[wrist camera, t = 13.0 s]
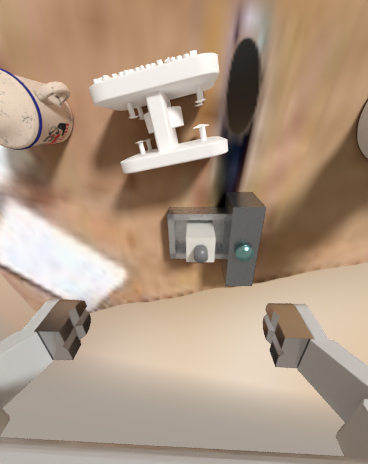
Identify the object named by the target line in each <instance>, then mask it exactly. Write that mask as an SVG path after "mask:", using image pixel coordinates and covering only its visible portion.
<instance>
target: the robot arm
mask: <svg viewBox="0 0 368 464" xmlns="http://www.w3.org/2000/svg"><path fill="white" fill-rule="evenodd" d="M357 139H358V144H359V147H360V150H361V151H362V153H363V154H364V155H365V157H367V158H368V102H367V103H366V105H365V107H364V109H363V112H362V114H361V117H360V120H359V124H358V131H357ZM86 307H87V305H86V303H85V301H82V300H62V299H61V300H59V299H50V300H48V301H46V302H45V304H44V305H43V306H42V307H41V308H40V309H39V311H38V312H37V313H36V314H35V315H34V316H33V318H32V319H31V320H30V321H29V322H28V323H27V325H26V326H25V327H24V328H23V329H22V330H21V332H15V333H14V334H12V335H11V336H9V337H7V338H6V339H4V340H2V341H1V342H0V435H1V433H2V432H3V430H4V429H5V427H6V425H7V424H8V422H9V420H10V419H9V415H8V414H7V413H6V412H5V411H4V410H3V409H2V408H3V407H4V406H5V405H6V404H7V403H8V402H9V401H10V400H12V399H13V398H14V397H15V396H16V395H17V394H18V393H19V392H20V391H21V390H22V389H23V388H25V387H26V386H27V385H28V384H29V383H30V382H31V381H32V380H33V379H34V378H35V377H36V376H38V375H39V374H40V373H41V372H42V371H43V370H44V369H45V368H46V367H47V366H48V365H49V364H51V362H53V360H73V359H74V357H75V355H76V353H77V351H78V349H79V347H80V346H81V341H80V339H81V338H83V337H84V336H85V335H86V334H87V332H88V330H89V327H90V323H91V317H90V314H89V312H87V311H86V310H85V308H86ZM266 312H267V315H265V316H264V319H263V330H264V335H265V338H266V340H267V341H268V342H269V343H270V344H271V347H270V352H271V356H272V358H273V361H274V364H275V367H286V368H298V371H299V372H300V373H301V374H302V375H303V376H304V377H305V378H306V380H307V381H308V382H309V383H310V384H311V385H312V386H313V387H314V388H315V390H317V392H318V393H319V394H320V395H321V396H322V397H323V399H324V400H325V401H326V402H327V403H328V404H329V405H330V406H331V407H332V409H334V411H335V412H336V413H337V414H338V415H339V416H340V417H341V419H342V420H343V421H344V422H345V424H344V425H343V426H342V427H341V428H340V430H339V431H338V432H337V435H336V439H337V441H338V443H339V445H340V447H341V450H342V452H343V454H344V456H330V455H312V454H294V453H276V452H258V451H240V450H222V449H204V448H186V447H168V446H149V445H132V444H114V443H97V442H79V441H59V440H42V439H24V438H5V437H0V464H368V365H366V364H365V363H364V362H363V361H361V360H360V359H359V358H357V357H356V356H354V355H353V354H352V353H350V352H349V351H348V350H346V349H345V348H343V347H342V346H341V345H339V344H338V343H337V342H335V341H334V340H329V339H328V337H327V336H326V334H325V333H324V331H323V329H322V328H321V326H320V325H319V323H318V322H317V320H316V319H315V317H314V315H313V314H312V312H311V311H310V309H309V308H308V306H307V305H306V304H274V303H269V304H268V305H267V306H266Z"/></svg>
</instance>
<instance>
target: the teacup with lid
mask: <svg viewBox="0 0 368 464" xmlns="http://www.w3.org/2000/svg"><path fill="white" fill-rule="evenodd" d="M69 97H70V92H69V90H68V88H67V86H66V85H65V84H63V83H61V82H51V83H47V84H44V83H41V82H37V81H34V80H30V79H27V78H23V77H20V76H17V75H13V74H11V73H9V72H8V71H5V70H3V69H0V145H2V146H4V147H7V148H11V149H16V150H22V149H27V148H30V147H32V146H39V145H48V144H56V143H60V142H63V141H65V140H66V139H67V138H68V137H69V135H70V134H71V131H72V128H73V117H72V113H71V110H70V107H69V105H68V103H67V102H66V100H68V98H69Z"/></svg>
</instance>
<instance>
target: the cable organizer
mask: <svg viewBox="0 0 368 464" xmlns="http://www.w3.org/2000/svg"><path fill="white" fill-rule="evenodd" d="M164 62H165V64H163V62H162V60H157V61H156V63H157V66H156V64H155V63H151V65H150V64H147V65H145V68H146V69H145V68H144V66H142V65H141V66H140V68H138V67H136V68H135V72H134V70H133V69H129V70H125V71H124V72H119V73H118V74H119V75H117V74H116V73H115V74H112V76H113V78H111V77H109V76H107V75H103V76H102V77H103V78H98V79H93V82H94V84H93V85H92V86H90V87H89V91H90V94H91V97H92V100H93V103H94V105H95V106H99V107H103V108H108V109H113V110H118V111H124V110H128V111H129V114H130V117H129V118H137V117H138V116H135V112H134V109H135V108H137V109H138V113H139V117H140V120H144V119H145V122H146V126H147V129H148V132H149V134H150V133H154V136H155V140H156V144H157V149H152V146H151V142H150V139H146V143H147V147H148V151H145V148H144V144H143V141H139V142H136V143H138V145H139V149H140V152H141V153H138V154H136V155H134V156H132V157H129V158H127V159H125V160H123V161H121V162H120V163H121V166H122V169H123V172H124V173H136V172H141V171H146V170H151V169H155V168H160V167H165V166H170V165H175V164H180V163H185V162H190V161H195V160H199V159H204V158H209V157H214V156H218V155H221V154H224V153H226V152H227V151H228V144H227V139H225V138H222V137H219V136H214V137H207V138H206V131H205V126H208V125H203V124H199V125H198V126H196V127H194V128H199V132H200V139H198V140H193V141H189V142H184V143H180V144H178V139H177V134H176V129H175V127H179V126H183V125H184V122H183V116H182V110H181V107H180V106H173V107H171V104H170V100H171V99H175V98H179V97H183V96H187V95H191V94H195V93H196V95H197V101H195V103H198V105H196V106H201V105H203V104H202V101H205V100H207V99H204V95H203V91H205V90H208V89H210V88H211V87H213V85H214V83H215V81H216V79H217V77H218V75H219V65H218V55H217V54H215V53H203V54H198V55H197V51H196V50H193V51H190V57H189V54H184V55H183V59H182V56H177V57H176V61H175V57H172V58H171V62H170V59H169V57H168V59H165V60H164ZM204 104H205V103H204ZM143 106H147V107H148V111H149V112H148V113H146V114H143V110H142V107H143ZM194 128H193V129H194ZM144 141H145V140H144Z"/></svg>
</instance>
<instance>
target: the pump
mask: <svg viewBox="0 0 368 464" xmlns="http://www.w3.org/2000/svg"><path fill="white" fill-rule="evenodd" d="M215 242H216V237H215V232H214V227H213V222H212V221H187V232H186V262H198V263H204V262H214V258H215Z"/></svg>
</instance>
